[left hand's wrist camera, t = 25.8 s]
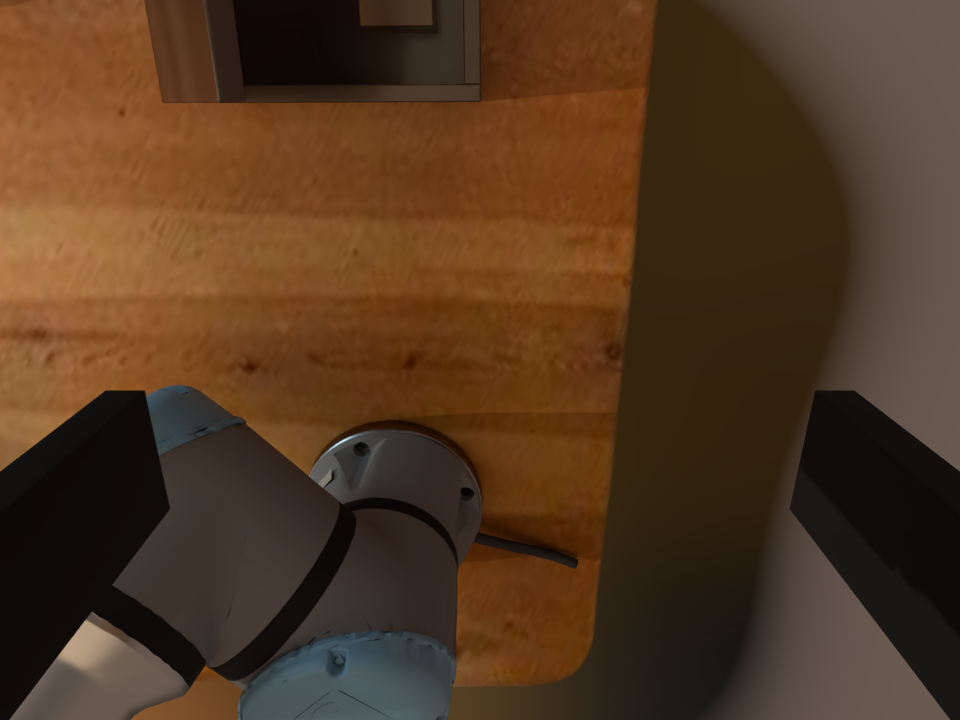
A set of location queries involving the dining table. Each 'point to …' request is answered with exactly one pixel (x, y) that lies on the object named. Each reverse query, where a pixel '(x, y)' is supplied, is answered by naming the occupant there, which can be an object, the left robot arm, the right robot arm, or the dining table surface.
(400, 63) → the chest
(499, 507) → the dining table surface
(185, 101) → the lid
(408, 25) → the block
